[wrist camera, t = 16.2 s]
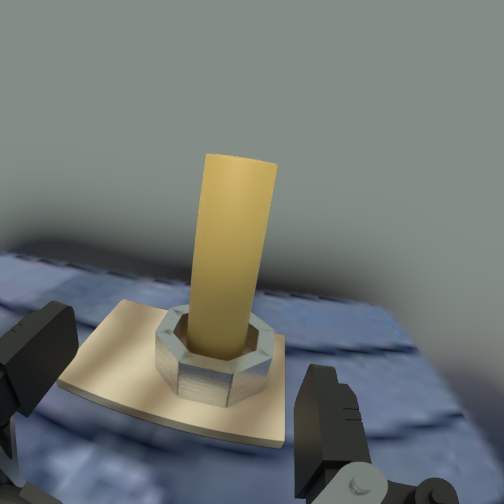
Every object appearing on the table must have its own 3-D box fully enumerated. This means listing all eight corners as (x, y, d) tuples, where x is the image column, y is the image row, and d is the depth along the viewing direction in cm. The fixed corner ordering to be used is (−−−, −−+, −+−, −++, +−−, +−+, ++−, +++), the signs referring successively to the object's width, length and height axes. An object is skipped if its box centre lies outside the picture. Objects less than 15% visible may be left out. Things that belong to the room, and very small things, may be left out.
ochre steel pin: (179, 378, 22) (198, 154, 16) (192, 345, 26) (213, 153, 20) (236, 389, 22) (278, 166, 16) (242, 355, 26) (277, 163, 20)
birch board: (57, 386, 18) (55, 377, 18) (122, 307, 30) (122, 299, 30) (280, 448, 18) (284, 441, 18) (282, 342, 30) (284, 335, 30)
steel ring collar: (144, 387, 20) (142, 352, 19) (176, 326, 28) (178, 294, 27) (261, 414, 20) (272, 381, 18) (266, 345, 28) (274, 313, 27)
